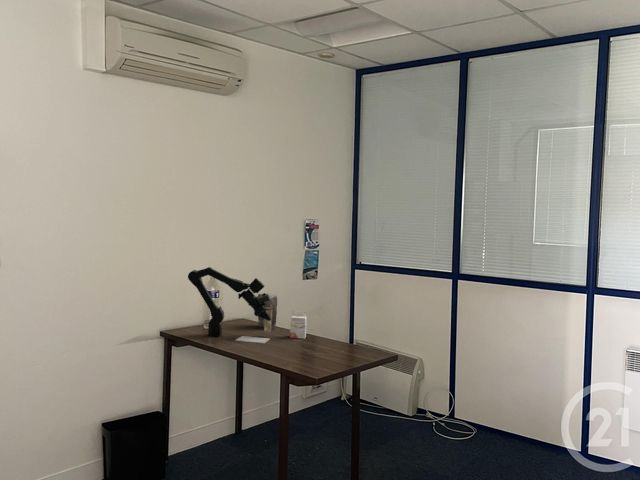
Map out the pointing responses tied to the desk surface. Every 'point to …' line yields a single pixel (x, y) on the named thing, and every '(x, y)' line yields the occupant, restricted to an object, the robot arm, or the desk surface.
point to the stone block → (273, 304)
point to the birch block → (267, 323)
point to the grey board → (252, 339)
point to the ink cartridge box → (298, 324)
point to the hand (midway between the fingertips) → (270, 319)
